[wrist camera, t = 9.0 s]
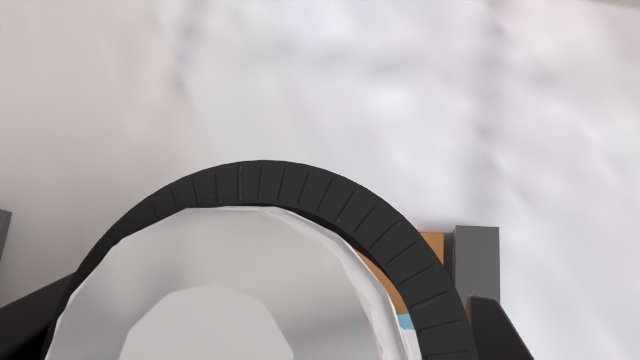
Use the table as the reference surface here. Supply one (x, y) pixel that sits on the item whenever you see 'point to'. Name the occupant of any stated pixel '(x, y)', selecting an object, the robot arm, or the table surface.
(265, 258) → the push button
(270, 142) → the table surface
